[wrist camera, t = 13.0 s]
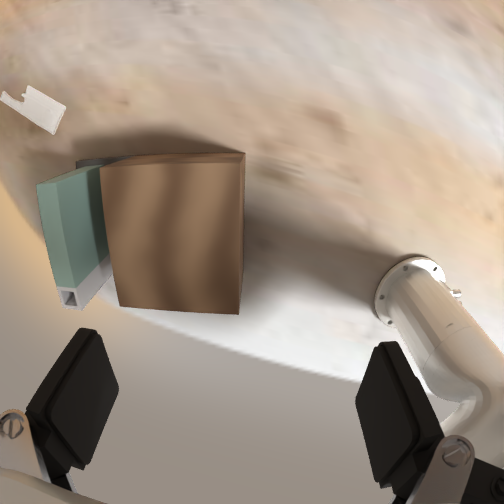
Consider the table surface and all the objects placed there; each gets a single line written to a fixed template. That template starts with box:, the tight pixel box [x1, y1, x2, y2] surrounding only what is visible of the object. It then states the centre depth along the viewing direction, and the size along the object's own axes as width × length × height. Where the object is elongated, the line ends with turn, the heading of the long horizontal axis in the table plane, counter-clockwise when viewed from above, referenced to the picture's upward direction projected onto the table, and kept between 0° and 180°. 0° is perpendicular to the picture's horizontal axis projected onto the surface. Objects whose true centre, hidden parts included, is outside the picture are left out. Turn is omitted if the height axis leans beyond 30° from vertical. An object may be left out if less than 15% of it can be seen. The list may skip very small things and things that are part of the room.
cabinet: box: [76, 153, 245, 315], centre depth 34 cm, size 23×16×10 cm
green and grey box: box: [36, 165, 113, 310], centre depth 33 cm, size 3×15×11 cm, turn 179°
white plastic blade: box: [0, 85, 66, 135], centre depth 32 cm, size 5×15×1 cm, turn 55°
